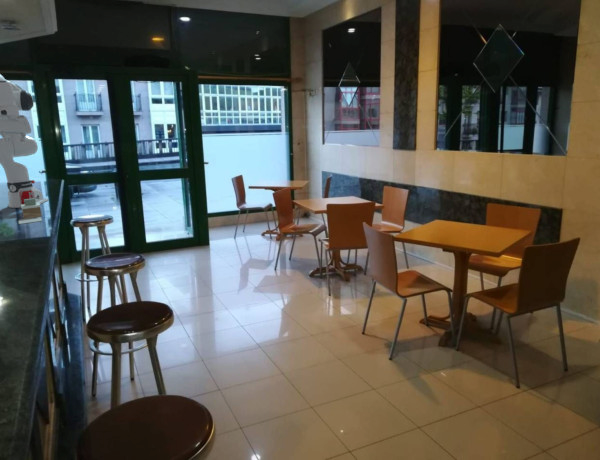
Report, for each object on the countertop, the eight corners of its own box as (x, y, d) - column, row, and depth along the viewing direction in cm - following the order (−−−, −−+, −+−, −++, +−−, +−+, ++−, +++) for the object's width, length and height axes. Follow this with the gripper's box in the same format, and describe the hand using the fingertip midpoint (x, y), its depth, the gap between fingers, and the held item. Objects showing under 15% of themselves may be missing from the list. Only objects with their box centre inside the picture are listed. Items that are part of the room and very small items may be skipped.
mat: (18, 220, 236) (18, 220, 236) (41, 217, 241) (40, 216, 241) (18, 224, 227) (18, 223, 227) (42, 221, 232) (42, 220, 232)
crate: (23, 216, 246) (21, 206, 245) (40, 213, 250) (39, 204, 249) (24, 218, 240) (22, 209, 238) (41, 216, 243) (40, 206, 242)
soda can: (30, 212, 253) (26, 190, 250) (19, 212, 255) (15, 191, 252) (40, 210, 260) (36, 188, 257) (29, 210, 262) (25, 188, 258)
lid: (21, 208, 245) (19, 199, 244) (39, 206, 249) (38, 196, 248) (22, 211, 238) (20, 201, 237) (40, 208, 242) (39, 199, 241)
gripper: (21, 116, 242) (27, 143, 243) (-15, 113, 222) (-8, 142, 224) (30, 114, 240) (37, 141, 241) (-5, 110, 220) (2, 140, 222)
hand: (15, 142), depth 232 cm, fingers open, 8 cm apart
